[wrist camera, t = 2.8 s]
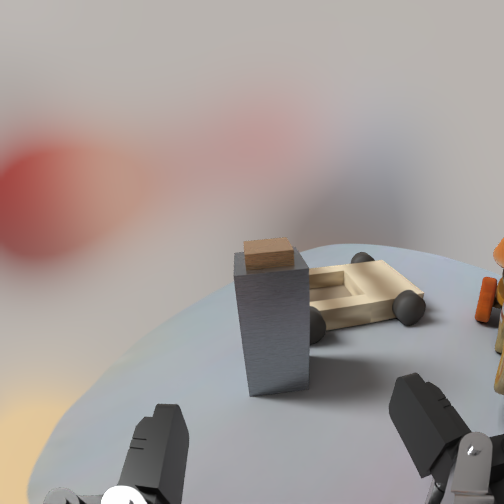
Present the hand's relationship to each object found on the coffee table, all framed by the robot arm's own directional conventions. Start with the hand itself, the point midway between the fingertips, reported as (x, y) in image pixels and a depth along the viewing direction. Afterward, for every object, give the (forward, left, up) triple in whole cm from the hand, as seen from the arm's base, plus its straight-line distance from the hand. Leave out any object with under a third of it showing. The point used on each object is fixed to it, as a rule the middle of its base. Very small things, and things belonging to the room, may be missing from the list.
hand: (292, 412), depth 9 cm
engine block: (0, -11, -8) cm, 14 cm away
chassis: (-9, -22, -8) cm, 25 cm away
